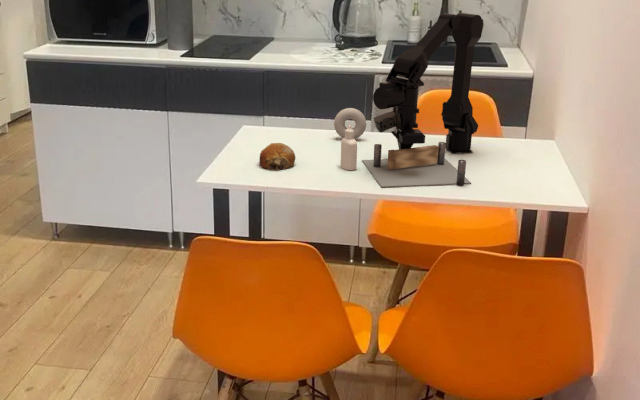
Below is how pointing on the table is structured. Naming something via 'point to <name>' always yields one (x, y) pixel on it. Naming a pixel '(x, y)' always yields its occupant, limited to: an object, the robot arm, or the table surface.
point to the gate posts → (440, 161)
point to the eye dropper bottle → (349, 150)
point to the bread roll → (277, 157)
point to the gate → (412, 157)
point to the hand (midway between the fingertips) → (402, 158)
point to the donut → (350, 114)
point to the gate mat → (414, 175)
